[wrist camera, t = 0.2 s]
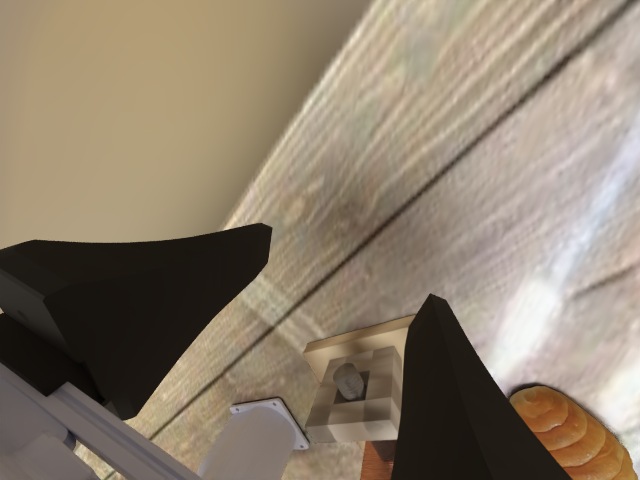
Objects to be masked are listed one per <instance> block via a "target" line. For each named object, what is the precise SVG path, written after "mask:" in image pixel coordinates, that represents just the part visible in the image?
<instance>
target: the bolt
mask: <svg viewBox="0 0 640 480" xmlns="http://www.w3.org/2000/svg"><path fill="white" fill-rule="evenodd" d="M333 380H334V382H335V384H336V385H337V387H338V389H339V390H340V392H341V394H342V395H343V397H344V399H345V400H346V402H347V403H349V402H357V401H364V400H365V399H366V393H367V386H366V385H365V383H364V381H363V379H362V378H361V376H360V374H359V372H358V371H357V369H356V367H355V366H354V364H352V363H345V364H343V365H341V366H340V367H338V368H337V369H336V371H335V372H334V374H333ZM396 444H397V439H395V440H375V441H365V448H364V456H363V463H362V470H361V477H360V480H391V474H392V468H393V462H394V456H395V450H396Z"/></svg>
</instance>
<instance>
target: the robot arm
mask: <svg viewBox="0 0 640 480" xmlns="http://www.w3.org/2000/svg"><path fill="white" fill-rule="evenodd" d="M271 235H272V227H270V226H268V225H265V224H263V223H256V224H251V225H246V226H242V227H238V228H233V229H229V230H224V231H220V232H215V233H210V234H205V235H199V236H194V237H188V238H181V239H173V240H163V241H148V242H130V243H85V242H83V243H82V242H65V241H47V240H31V241H27V242H23V243H20V244H17V245H14V246H10V247H7V248H4V249H1V250H0V308H1V309H2V311H3V312H4V313H2V314H0V480H101V479H100V478H99V477H98V476H97V475H96V473H95V472H94V470H93V469H92V468H91V467H89V466H88V465H87V464H86V463H85V462H84V461H83V460H81V459H80V458H79V457H78V456H77V455H76V454H75V453H74V452H73V450H74V448H75V446H76V440H78V441H79V442H80V443H81V444H83V445H84V446H85V447H87V448H88V449H89V450H90V451H92V452H93V453H94V454H95V455H97V456H98V457H99V458H101V459H102V460H103V461H104V462H106V463H107V464H108V465H109V466H111V467H112V468H113V469H115V470H116V471H117V472H118V473H120V474H121V475H122V476H124V477H125V478H126V479H127V480H281V477H282V475H283V472H284V470H285V467H286V464H287V462H288V459H289V457H290V454H291V452H292V450H298V449H308V448H309V443H308V441H307V439H306V438H305V436H304V435H303V433H302V432H301V430H300V428H299V427H298V425H297V424H296V422H295V421H294V419H293V418H292V416H291V414H290V413H289V411H288V410H287V408H286V407H285V405H284V403H283V402H282V400H281V399H279V398H275V399H269V400H263V401H257V402H251V403H244V404H238V405H232V406H231V407H230V411H231V412H232V416H231V417H230V419H229V420H228V422H227V423H226V425H225V426H224V428H223V429H222V431H221V432H220V434H219V435H218V437H217V438H216V440H215V441H214V442H213V444H212V445H211V447H210V448H209V450H208V451H207V453H206V454H205V456H204V458H203V459H202V461H201V463H200V466H199V468H198V472H197V474H196V473H194V472H193V471H191V470H190V469H189V468H187V467H186V466H185V465H183V464H182V463H180V462H179V461H178V460H176V459H175V458H173V457H172V456H171V455H169V454H168V453H166V452H165V451H164V450H162V449H161V448H160V447H158V446H157V445H155V444H154V443H153V442H151V441H150V440H148V439H147V438H146V437H144V436H143V435H141V434H140V433H139V432H137V431H136V430H135V429H133V428H132V427H130V426H129V425H128V424H126V423H125V422H123V421H124V420H128V419H131V418H133V417H136V416H137V414H138V413H139V412H140V410H141V409H142V407H143V406H144V405H145V403H146V402H147V401H148V399H149V398H150V396H151V395H152V394H153V392H154V391H155V390H156V388H157V387H158V386H159V384H160V383H161V382H162V380H163V379H164V378H165V376H166V375H167V374H168V372H169V371H170V370H171V369H172V367H173V366H174V365H175V363H176V362H177V361H178V360H179V358H180V357H181V356H182V355H183V353H184V352H185V351H186V350H187V349H188V347H189V346H190V345H191V344H192V343H193V341H194V340H195V339H196V338H197V336H198V335H199V334H200V333H201V332H202V331H203V330H204V328H205V327H206V326H207V325H208V324H209V323H210V322H211V320H212V319H213V318H214V317H215V316H216V315H217V314H218V313H219V312H220V311H221V310H222V309H223V308H224V307H225V306H226V305H227V304H228V303H230V302H231V301H232V300H233V299H234V298H235V297H236V296H237V295H238V294H239V293H240V292H241V291H242V290H243V289H244V288H246V287H247V286H248V285H249V284H250V283H251V282H252V281H253V280H254V279H255V278H256V277H257V275H258V274H259V273H260V272H261V271H262V269H263V268H264V267H265V265H266V264H267V263H268V258H269V250H270V243H271ZM391 480H573V479H572V478H571V477H570V476H569V474H568V473H567V472H566V471H565V470H564V469H563V468H562V466H561V465H560V464H559V463H558V462H557V461H556V460H555V458H554V457H553V456H552V455H551V453H550V452H549V451H548V450H547V449H546V447H545V446H544V445H543V444H542V443H541V441H540V440H539V439H538V438H537V437H536V435H535V434H534V433H533V432H532V431H531V429H530V428H529V427H528V425H527V424H526V423H525V422H524V420H523V419H522V418H521V417H520V415H519V414H518V413H517V411H516V410H515V409H514V407H513V406H512V404H511V403H510V402H509V400H508V399H507V398H506V396H505V395H504V394H503V392H502V391H501V390H500V388H499V387H498V385H497V384H496V382H495V381H494V379H493V378H492V376H491V375H490V373H489V372H488V370H487V369H486V367H485V366H484V364H483V363H482V361H481V360H480V358H479V356H478V355H477V353H476V351H475V350H474V348H473V346H472V345H471V343H470V341H469V340H468V338H467V336H466V335H465V333H464V331H463V329H462V327H461V326H460V324H459V322H458V320H457V318H456V317H455V315H454V313H453V311H452V309H451V308H450V306H449V304H448V303H447V301H446V300H445V299H443V298H440V297H438V296H435V295H433V294H431V293H430V294H429V296H428V297H427V299H426V300H425V302H424V304H423V305H422V307H421V308H420V310H419V311H418V313H417V314H416V316H415V317H414V319H413V320H412V322H411V324H410V325H409V327H408V332H407V337H406V342H405V348H404V363H403V383H402V403H401V415H400V424H399V430H398V437H397V444H396V450H395V456H394V462H393V468H392V474H391Z"/></svg>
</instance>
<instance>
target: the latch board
mask: <svg viewBox="0 0 640 480" xmlns="http://www.w3.org/2000/svg"><path fill="white" fill-rule="evenodd" d="M415 316H416V315H412V316H408V317H404V318H401V319H397V320H393V321H390V322H386V323H382V324H379V325H375V326H371V327H368V328H364V329H360V330H357V331H353V332H349V333H345V334H342V335H338V336H334V337H331V338H327V339H323V340H320V341H316V342H312V343H309V344H307V346H306V348H305V350H304V352H303V355H304V357H305V359H306V360H307V362H308V364H309V365H310V367H311V369H312V370H313V372H314V373H315V375H316V377H317V378H318V380H319V382H320V383H321V385H320V388H319V390H318V393H317V396H316V398H315V401H314V404H313V406H312V409H311V412H310V414H309V417H308V420H307V422H306V425H305V428H306V430H307V431H308V433H309V435H310V436H311V438H312V439H313V441H314V443H335V442H355V441H356V443H357V444H358V446H359V448H360V449H361V451H362V453H363V454H364V448H365V441H375V440H395V439H397V437H398V430H399V424H400V415H401V403H402V383H403V363H404V348H405V342H406V337H407V332H408V327H409V325H410V324H411V322H412V320H413V319H414V317H415ZM345 363H352V364H354V366H355V367H356V369H357V371H358V372H359V374H360V376H361V378H362V379H363V381H364V383H365V385H366V386H367V393H366V399H365V400H364V401H357V402H349V403H347V402H346V400H345V399H344V397H343V395H342V394H341V392H340V390H339V389H338V387H337V385H336V384H335V382H334V380H333V374H334V372H335V371H336V369H337V368H338V367H340V366H341V365H343V364H345Z"/></svg>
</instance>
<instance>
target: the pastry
mask: <svg viewBox="0 0 640 480" xmlns="http://www.w3.org/2000/svg"><path fill="white" fill-rule="evenodd" d="M509 402H510V403H511V404H512V406H513V407H514V409H515V410H516V411H517V413H518V414H519V415H520V417H521V418H522V419H523V420H524V422H525V423H526V424H527V425H528V427H529V428H530V429H531V431H532V432H533V433H534V434H535V435H536V437H537V438H538V439H539V440H540V441H541V443H542V444H543V445H544V446H545V447H546V449H547V450H548V451H549V452H550V453H551V455H552V456H553V457H554V458H555V460H556V461H557V462H558V463H559V464H560V465H561V466H562V468H563V469H564V470H565V471H566V472H567V473H568V474H569V476H570V477H571V478H572V479H573V480H638V477H637V474H636V473H635V471H634V470H633V463H632V460H631V458H630V455H629V452H628V451H627V449H626V448H625V447H624V446H623V445H622V444H620V443H619V441H618V440H617V439H616V438H615V437H614V436H613V434H612V433H611V432H610V431H609V430H607V429H606V428H605V427H604V426H603V425H602V424H601V423H599V422H598V421H597V420H596V419H595V418H593V417H592V416H591V415H590V414H588V413H587V412H586V411H585V410H583V409H582V408H580V407H579V406H578V405H576V404H575V403H574V402H573V401H571V400H570V399H569V398H568V397H566V396H565V395H563V394H562V393H560V392H557V391H555V390H553V389H550V388H548V387H546V386H535V387H532V388H527V389H523V390H520V391H518V392H517V393H515V394H514V395H512V396H511V397H510V401H509Z"/></svg>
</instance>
